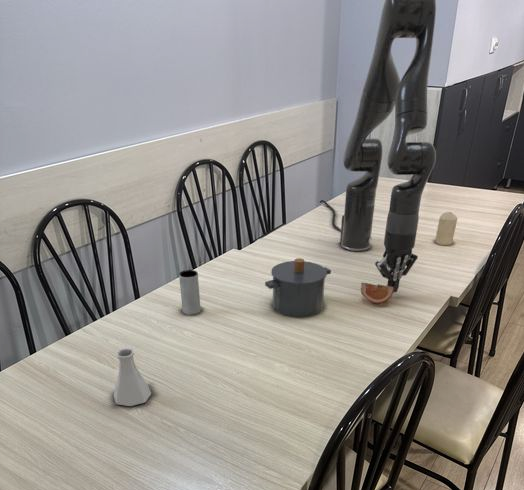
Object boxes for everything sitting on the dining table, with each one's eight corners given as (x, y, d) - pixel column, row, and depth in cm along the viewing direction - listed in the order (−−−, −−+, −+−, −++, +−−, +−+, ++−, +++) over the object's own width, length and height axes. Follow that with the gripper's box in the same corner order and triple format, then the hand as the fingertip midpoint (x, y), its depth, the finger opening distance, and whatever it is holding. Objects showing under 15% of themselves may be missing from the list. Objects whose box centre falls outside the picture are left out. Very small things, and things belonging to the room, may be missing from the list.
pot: (255, 303, 131) (254, 271, 127) (312, 288, 139) (314, 257, 134) (280, 324, 122) (281, 290, 117) (340, 307, 130) (343, 274, 125)
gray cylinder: (187, 316, 125) (183, 278, 120) (179, 309, 129) (176, 272, 123) (203, 312, 127) (200, 274, 122) (195, 305, 131) (192, 268, 125)
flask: (116, 385, 101) (108, 343, 96) (153, 383, 101) (147, 341, 96) (110, 408, 95) (101, 364, 89) (149, 406, 95) (142, 362, 90)
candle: (453, 245, 167) (459, 216, 161) (435, 244, 168) (441, 215, 162) (451, 240, 171) (457, 211, 166) (434, 239, 172) (439, 210, 167)
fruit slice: (357, 303, 131) (358, 286, 128) (362, 293, 136) (364, 276, 134) (389, 309, 128) (391, 291, 126) (394, 298, 134) (396, 281, 131)
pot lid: (261, 271, 128) (261, 256, 126) (306, 261, 134) (306, 246, 132) (290, 291, 118) (291, 275, 116) (337, 279, 124) (339, 264, 122)
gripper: (410, 219, 130) (400, 280, 139) (370, 228, 124) (363, 291, 134) (432, 227, 125) (420, 291, 134) (391, 237, 119) (382, 303, 128)
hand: (392, 291), depth 134 cm, fingers closed
